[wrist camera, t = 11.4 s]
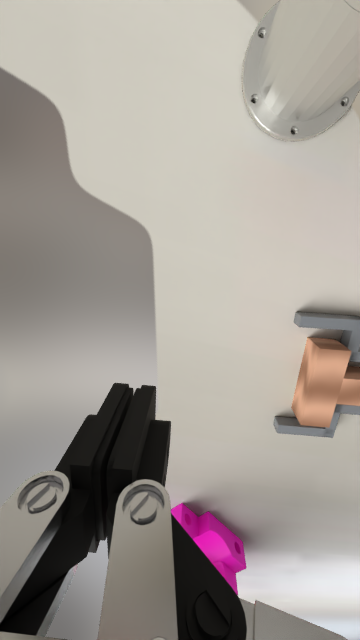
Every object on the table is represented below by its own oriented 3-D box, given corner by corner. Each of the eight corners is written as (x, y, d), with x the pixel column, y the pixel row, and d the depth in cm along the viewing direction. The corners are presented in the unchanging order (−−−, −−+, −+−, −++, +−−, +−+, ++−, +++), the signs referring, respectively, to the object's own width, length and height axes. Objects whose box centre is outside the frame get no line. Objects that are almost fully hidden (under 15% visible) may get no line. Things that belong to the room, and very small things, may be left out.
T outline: (295, 312, 36) (301, 316, 35) (418, 320, 36) (430, 324, 34) (273, 424, 42) (276, 433, 41) (377, 432, 42) (386, 442, 40)
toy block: (242, 540, 52) (249, 589, 45) (217, 553, 53) (220, 602, 46) (192, 495, 49) (191, 540, 42) (167, 510, 50) (162, 556, 43)
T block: (307, 337, 38) (319, 348, 34) (393, 343, 37) (415, 356, 33) (291, 407, 41) (300, 425, 38) (369, 414, 41) (386, 432, 37)
